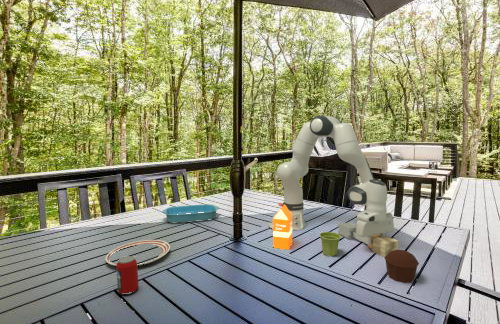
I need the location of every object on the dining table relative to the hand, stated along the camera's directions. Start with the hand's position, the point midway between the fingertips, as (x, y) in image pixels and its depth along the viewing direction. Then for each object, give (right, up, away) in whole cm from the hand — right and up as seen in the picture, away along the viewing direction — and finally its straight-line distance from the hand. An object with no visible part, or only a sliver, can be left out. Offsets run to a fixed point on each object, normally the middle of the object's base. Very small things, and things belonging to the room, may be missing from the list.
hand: (375, 243), depth 133 cm
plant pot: (-23, -4, -4) cm, 24 cm away
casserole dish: (-98, 0, +53) cm, 112 cm away
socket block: (+2, -3, -5) cm, 6 cm away
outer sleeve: (-7, -1, +17) cm, 18 cm away
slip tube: (-2, -2, +5) cm, 5 cm away
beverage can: (-103, -8, -33) cm, 108 cm away
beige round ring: (-110, -6, -4) cm, 111 cm away
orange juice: (-43, -3, +6) cm, 44 cm away
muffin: (-2, -6, -26) cm, 27 cm away
